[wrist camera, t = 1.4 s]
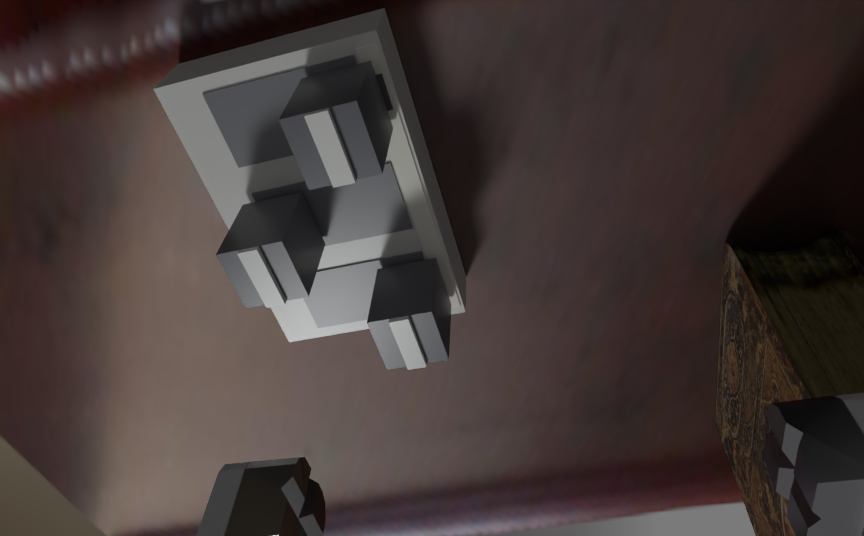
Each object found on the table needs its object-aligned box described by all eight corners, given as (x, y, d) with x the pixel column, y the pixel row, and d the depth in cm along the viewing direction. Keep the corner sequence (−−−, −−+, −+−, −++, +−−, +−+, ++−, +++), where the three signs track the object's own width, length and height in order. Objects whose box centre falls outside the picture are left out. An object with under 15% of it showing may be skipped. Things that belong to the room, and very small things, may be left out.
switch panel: (384, 7, 29) (375, 31, 26) (466, 276, 37) (465, 313, 35) (178, 64, 31) (151, 90, 28) (300, 307, 39) (288, 344, 37)
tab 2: (435, 257, 32) (431, 315, 29) (451, 304, 34) (448, 363, 31) (377, 269, 33) (366, 326, 30) (395, 314, 35) (386, 373, 31)
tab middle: (302, 191, 31) (280, 244, 27) (325, 243, 32) (307, 300, 29) (242, 204, 31) (214, 258, 28) (268, 255, 33) (244, 311, 30)
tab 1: (370, 60, 27) (355, 103, 23) (393, 128, 28) (381, 176, 25) (301, 78, 27) (276, 122, 24) (327, 143, 29) (307, 193, 26)
